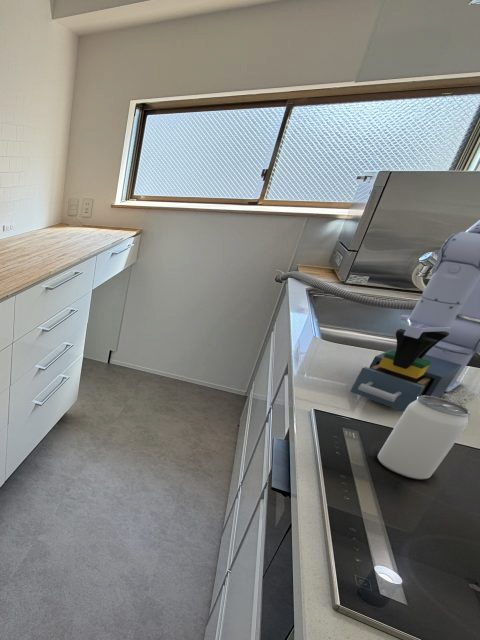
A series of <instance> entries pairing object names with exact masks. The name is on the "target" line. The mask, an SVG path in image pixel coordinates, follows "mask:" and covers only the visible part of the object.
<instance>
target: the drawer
mask: <svg viewBox="0 0 480 640" xmlns="http://www.w3.org/2000/svg"><path fill="white" fill-rule="evenodd" d="M433 381H434V379H433V378H430V377H427V376H424V375H422V376H420V377H418V378H417V379H416V378H412V377H409V376H406V375H403V374H400V373H397V372H394V371H391V370H388V369H385V368H381V367H379V364H378V365H376V366H374V367H372V368H371V369H370V368H369V367H367V366H363V367H362V368H361V369H360V372H359V374H358V375H357V378H356V379H355V381H354V383H353V385H352V387H351V389H350V390H349V392H350V393H352V394H355V395H358V396H360V397H363V398H366V399H368V400H371V401H374V402H377V403H380V404H382V405H385V406H387V407H389V408H392V409H396V410H398V411H399V412H403V413H404V411H405V410H406V408H407V407H408V405H409V404H410V403H412V402H414V401H415V400H417V397H419V396H424V395H425V394H426V392H427V391H428V389H429V387H430V386H431V384H432V383H433Z"/></svg>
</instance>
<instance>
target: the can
mask: <svg viewBox="0 0 480 640" xmlns="http://www.w3.org/2000/svg"><path fill="white" fill-rule="evenodd" d="M470 415H471V411H470V410H469V409H467V408H466V407H464V406H463V405H460V404H459V403H456V402H453V401H451V400H448V399H444V398H441V397H439V398H437V397H432V396H419V397H417V400H415V401H414V402H412V403H410V404H409V405H408V407H407V408H406V410H405V411H404V412H403V413H402V415H401V416H400V418H399V419H398V421H397V423H396V424H395V426H394V427H393V429H392V430H391V432H390V434H389V436H388V437H387V439H386V441H384V443H383V446H382V447H381V449H380V450H379V452H378V454H377V459H378V461H379V463H380V464H381V466H383V467H384V468H386V469H387V470H389V471H391V472H393V473H395V474H396V475H400V476H402V477H405V478H408V479H413V480H427V479H430V478H431V477H432V475H433V474H434V473H435V471H436V470H438V467H439V466H440V464H442V462H443V460H444V459H445V458H446V456H447V455H448V453H450V451H451V449H452V447H453V446H454V445H455V443H456V442H457V441H458V439H459V438H460V437H461V435H462V433H463V432H464V430H465V429H466V428H467V426H468V424H469V417H468V416H470Z"/></svg>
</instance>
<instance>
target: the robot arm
mask: <svg viewBox="0 0 480 640" xmlns="http://www.w3.org/2000/svg"><path fill="white" fill-rule="evenodd" d="M431 272H432V275H431V276H430V279H429V280H428V282H427V284H426V286H425V288H424V290H423V291H422V293H421V294H420V297H419V299H418V301H417V302H416V304H415V306H414V308H413V309H412V311H411V314H410V315H408V314H407V315H406V314H402V315H400V317H399V320H400V321H404V322H405V323H406V325H407V328H406V329H403V328H399V329H397V330H396V331H395V339H396V347H397V348H396V353H395V357H394V361H393V365H395V366H398V367H401V368H404V369H407V368H408V367H409V366H411V365H412V364H413V362H414V361H415V360H416V359H417V358H421V359H422V358H423V356H424V355H428V356H432V357H436V358H439V359H443V360H446V361H450V362H453V363H457V364H460V365H462V366H461V368H460V369H459V371H458V372H457V374H456V375H455V377H454V378H453V380H452V381H451V383H450V384H449V386H448V388H447V389H446V391H445V392H444V393H450V392H451V391H452V390H454V389H456V388H458V386H460V385H461V384H462V382H461V381H459V380H458V379H459V377H460V376H461V374H462V373H463V371H464V370H465V368H466V367H467V365H468V364H469V362H470V360H472V357H473V356H474V354H480V321H477V320H480V219H479V220H477V222H475V223H474V224H472V225H471V226H469V228H468V229H466V230H465V231H460V232H458V233H457V234H456V233H453V234H451V235H449V236H448V237H447V238H446V240H445V241H444V243H442V246H441V247H440V248H439V251H438V254H437V257H436V261H435V263H434V265H433V267H432V269H431ZM459 316H462V317H459ZM464 317H467V318H464ZM468 318H470V319H468ZM472 319H475V320H472Z"/></svg>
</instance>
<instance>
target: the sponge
mask: <svg viewBox="0 0 480 640" xmlns="http://www.w3.org/2000/svg"><path fill="white" fill-rule="evenodd" d="M395 353H396V351H394V350H392V351H390V352H388V353H385V355H384V357H383V358H382V360H381V362H380V364H379V367H381V368H385V369H388V370H391V371H394V372H397V373H400V374H403V375H406V376H409V377H412V378H416V379H417V378H418V377H420V376H422V375H424V373H425V372H426V370H427V368H428V367H429V365H430V363H431V361H428V360H425V359H421V358H417V359H416V360H415V361H414V362H413V364H412V365H411V366H409V367H408V368H407V369H404V368H401V367H398V366H395V365H393V361H394V357H395Z"/></svg>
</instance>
